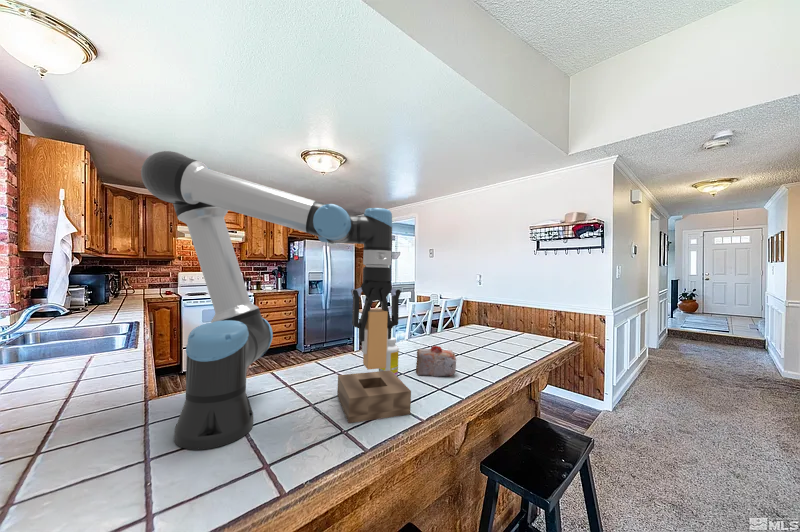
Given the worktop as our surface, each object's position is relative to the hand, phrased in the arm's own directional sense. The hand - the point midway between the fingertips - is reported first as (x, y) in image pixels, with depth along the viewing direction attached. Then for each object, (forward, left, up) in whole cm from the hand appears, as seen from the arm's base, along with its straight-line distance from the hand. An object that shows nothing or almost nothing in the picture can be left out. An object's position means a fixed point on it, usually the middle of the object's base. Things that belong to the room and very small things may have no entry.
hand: (374, 351), depth 86 cm
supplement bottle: (-6, +22, -15) cm, 27 cm away
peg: (0, 0, -4) cm, 4 cm away
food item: (+7, +32, -15) cm, 36 cm away
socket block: (0, 0, -14) cm, 14 cm away
